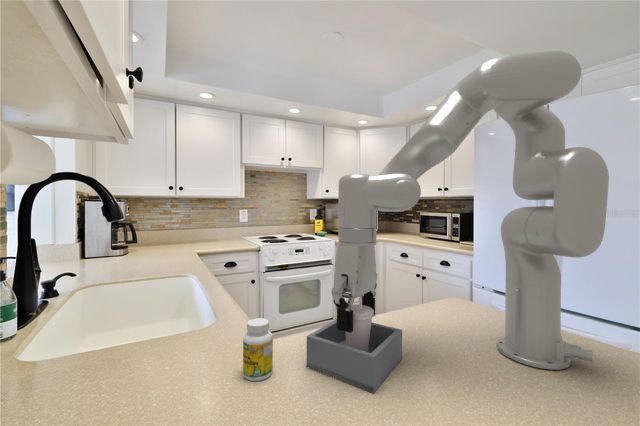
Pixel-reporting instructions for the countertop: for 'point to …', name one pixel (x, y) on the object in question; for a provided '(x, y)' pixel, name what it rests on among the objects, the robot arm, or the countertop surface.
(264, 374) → the supplement bottle
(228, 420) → the countertop surface
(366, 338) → the smoothie
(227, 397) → the countertop surface
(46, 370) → the countertop surface
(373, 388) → the box
